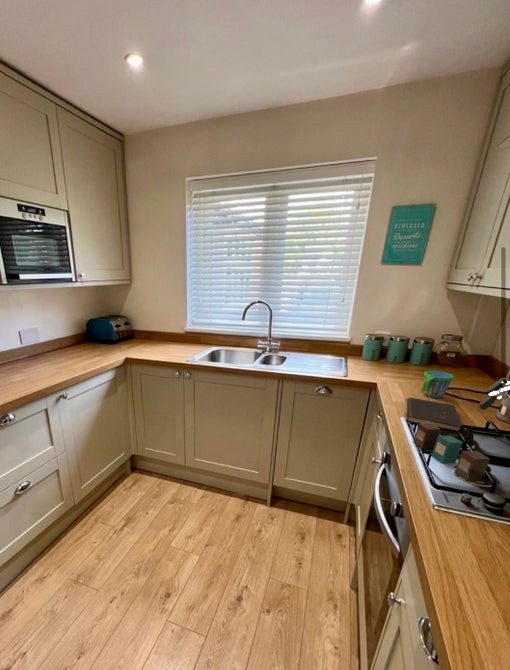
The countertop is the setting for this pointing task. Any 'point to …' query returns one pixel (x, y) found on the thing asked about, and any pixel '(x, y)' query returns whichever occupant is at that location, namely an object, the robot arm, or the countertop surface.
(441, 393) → the snack cup
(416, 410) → the hardcover book
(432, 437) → the walnut block
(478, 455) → the walnut block
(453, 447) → the teal block
